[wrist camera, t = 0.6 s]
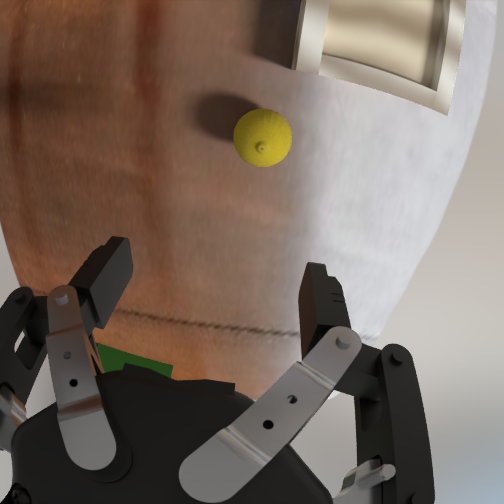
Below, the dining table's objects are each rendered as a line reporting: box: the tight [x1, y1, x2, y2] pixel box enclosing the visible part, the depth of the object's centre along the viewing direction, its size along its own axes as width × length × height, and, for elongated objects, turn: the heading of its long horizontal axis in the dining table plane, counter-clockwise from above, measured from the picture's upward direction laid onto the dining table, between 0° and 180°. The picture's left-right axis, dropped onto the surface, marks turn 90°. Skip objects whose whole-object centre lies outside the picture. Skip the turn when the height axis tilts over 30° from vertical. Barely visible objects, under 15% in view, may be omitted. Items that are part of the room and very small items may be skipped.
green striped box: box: [97, 343, 173, 378], centre depth 50 cm, size 18×7×24 cm, turn 73°
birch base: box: [291, 0, 466, 115], centre depth 19 cm, size 16×16×6 cm
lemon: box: [233, 109, 292, 167], centre depth 26 cm, size 6×6×8 cm
